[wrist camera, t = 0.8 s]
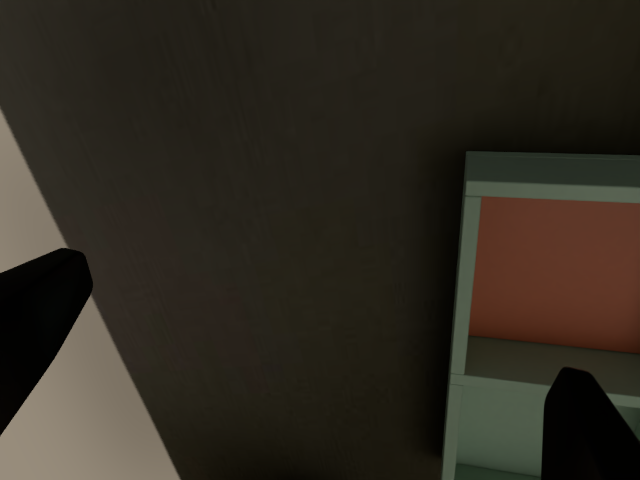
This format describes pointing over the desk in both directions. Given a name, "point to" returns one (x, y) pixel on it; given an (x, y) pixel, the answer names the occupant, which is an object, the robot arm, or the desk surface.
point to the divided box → (539, 301)
